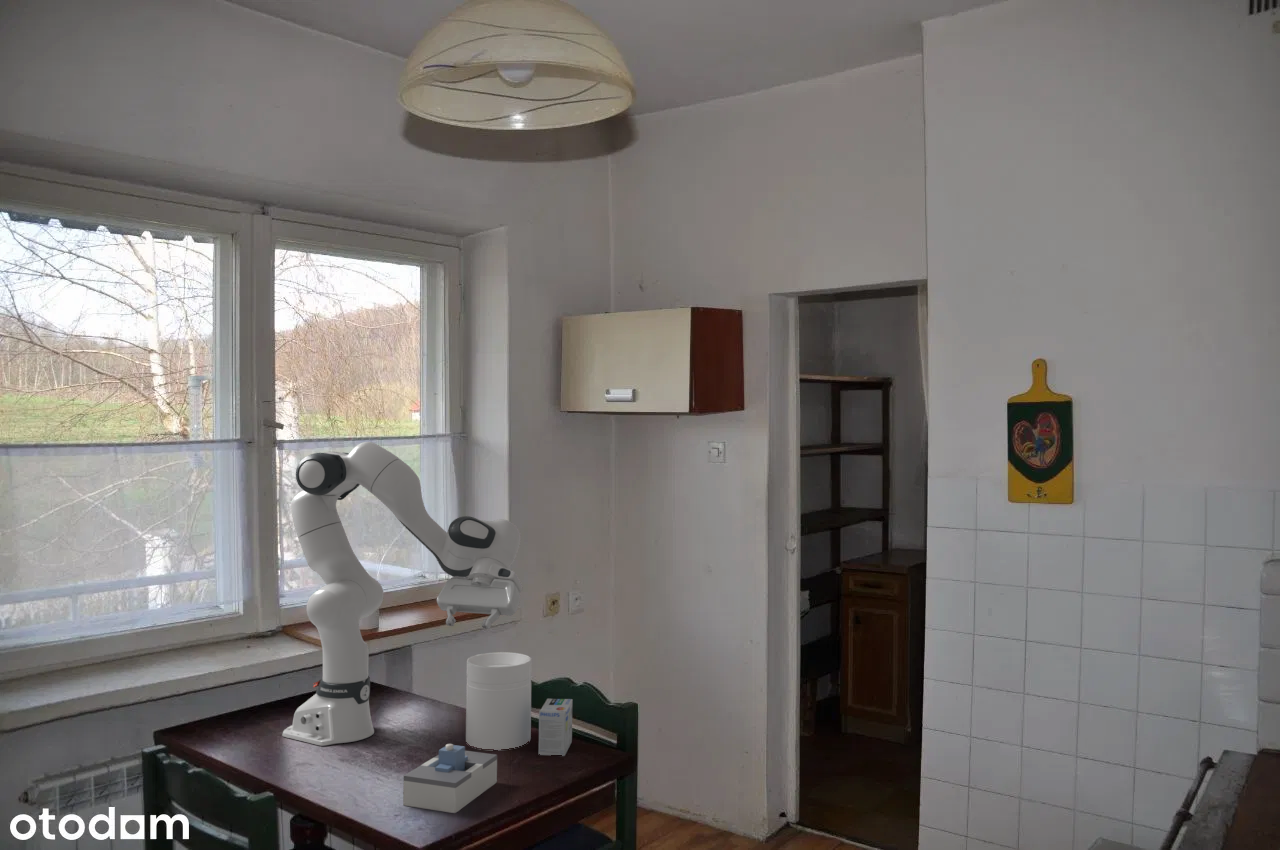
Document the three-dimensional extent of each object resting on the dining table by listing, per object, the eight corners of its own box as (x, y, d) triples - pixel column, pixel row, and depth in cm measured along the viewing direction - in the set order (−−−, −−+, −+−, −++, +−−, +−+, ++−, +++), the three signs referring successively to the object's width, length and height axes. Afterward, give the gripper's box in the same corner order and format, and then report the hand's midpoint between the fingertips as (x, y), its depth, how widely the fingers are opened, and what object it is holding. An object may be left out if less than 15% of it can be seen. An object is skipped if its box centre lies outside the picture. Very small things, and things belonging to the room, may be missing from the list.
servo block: (432, 792, 194) (433, 748, 194) (453, 778, 202) (453, 736, 202) (449, 794, 193) (450, 750, 193) (469, 780, 201) (470, 738, 201)
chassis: (403, 805, 191) (403, 775, 191) (448, 775, 208) (448, 748, 208) (455, 813, 187) (455, 783, 187) (496, 782, 204) (497, 754, 204)
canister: (493, 726, 244) (494, 649, 244) (543, 736, 236) (544, 657, 236) (452, 743, 230) (453, 661, 230) (503, 754, 222) (504, 670, 222)
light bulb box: (546, 741, 232) (546, 697, 233) (572, 742, 232) (573, 698, 232) (537, 755, 222) (538, 709, 222) (565, 756, 221) (566, 710, 221)
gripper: (445, 568, 228) (423, 615, 219) (521, 572, 222) (501, 621, 212) (454, 583, 232) (433, 630, 223) (528, 588, 226) (510, 637, 216)
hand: (467, 626), depth 218 cm, fingers open, 8 cm apart
